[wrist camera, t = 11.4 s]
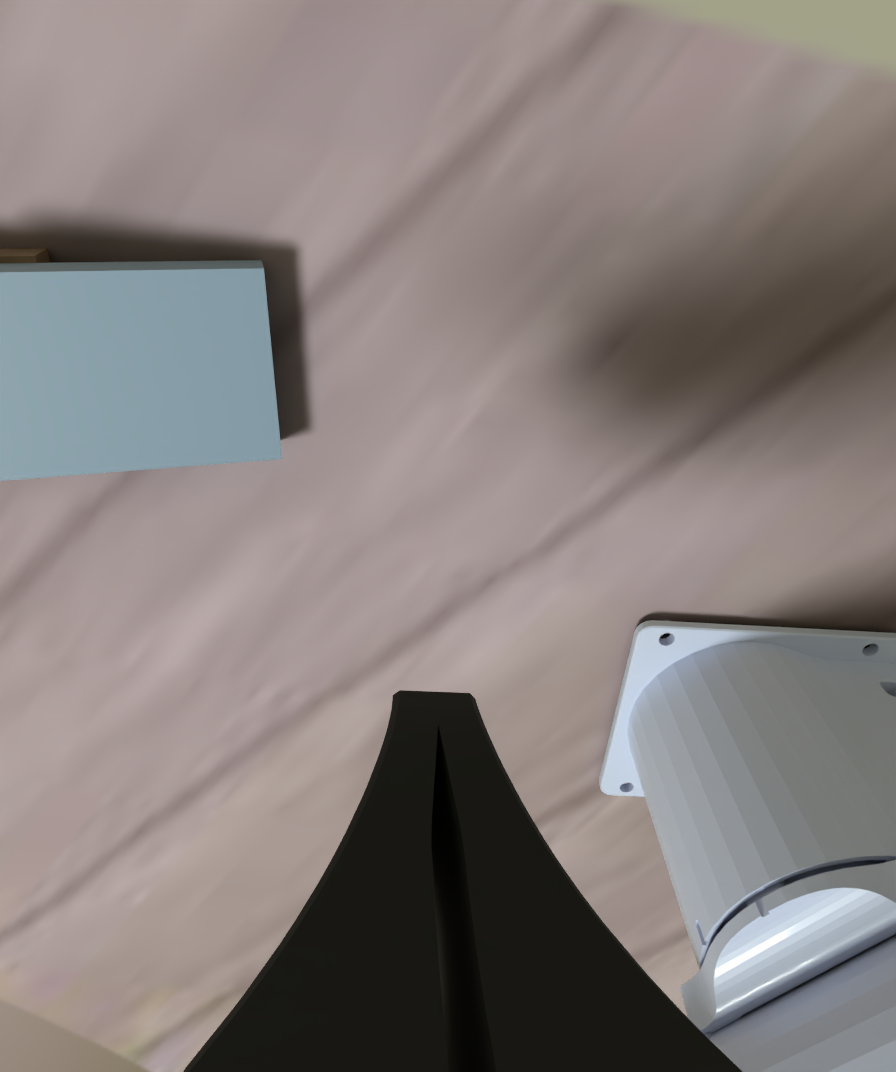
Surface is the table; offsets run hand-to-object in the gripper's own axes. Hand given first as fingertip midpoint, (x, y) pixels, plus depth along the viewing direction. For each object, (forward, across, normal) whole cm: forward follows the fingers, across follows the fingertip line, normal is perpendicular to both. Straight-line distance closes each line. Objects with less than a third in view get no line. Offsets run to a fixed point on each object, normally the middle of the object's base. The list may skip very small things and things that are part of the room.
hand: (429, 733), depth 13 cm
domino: (+10, +4, -3) cm, 11 cm away
